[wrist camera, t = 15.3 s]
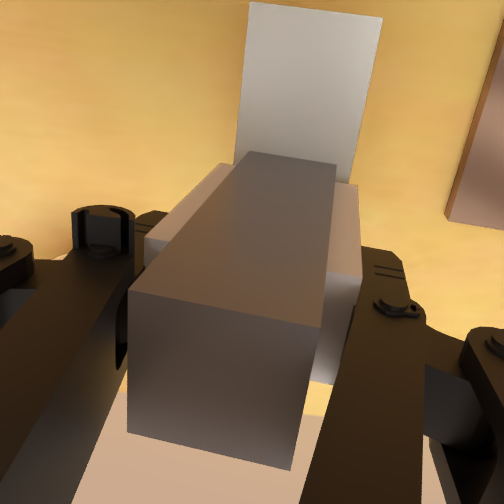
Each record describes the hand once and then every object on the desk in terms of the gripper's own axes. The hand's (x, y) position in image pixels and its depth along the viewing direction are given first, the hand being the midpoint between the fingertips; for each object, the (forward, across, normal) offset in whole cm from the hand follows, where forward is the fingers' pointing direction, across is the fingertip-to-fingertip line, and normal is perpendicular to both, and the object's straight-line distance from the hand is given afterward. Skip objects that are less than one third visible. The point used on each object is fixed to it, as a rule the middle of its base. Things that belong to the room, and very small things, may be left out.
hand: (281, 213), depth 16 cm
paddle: (+4, 0, 0) cm, 4 cm away
